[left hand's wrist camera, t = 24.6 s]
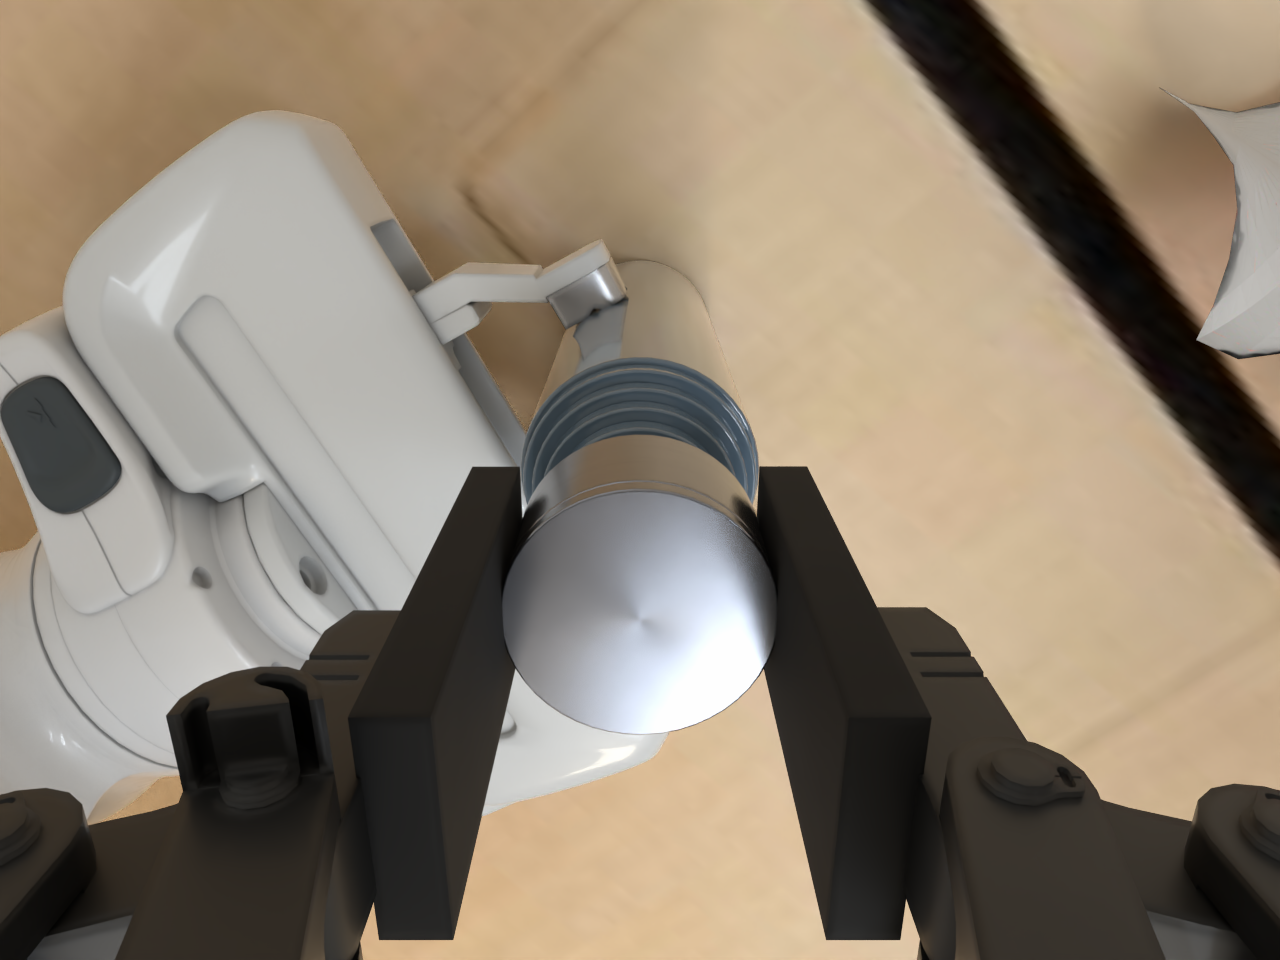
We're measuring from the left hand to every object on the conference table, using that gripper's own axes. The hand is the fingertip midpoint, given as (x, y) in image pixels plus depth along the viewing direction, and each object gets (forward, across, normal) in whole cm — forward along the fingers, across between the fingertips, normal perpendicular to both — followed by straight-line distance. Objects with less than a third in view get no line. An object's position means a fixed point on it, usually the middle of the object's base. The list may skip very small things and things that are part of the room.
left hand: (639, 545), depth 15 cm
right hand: (+10, -1, 0) cm, 10 cm away
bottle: (+17, 0, 0) cm, 17 cm away
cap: (-2, 0, 0) cm, 2 cm away
